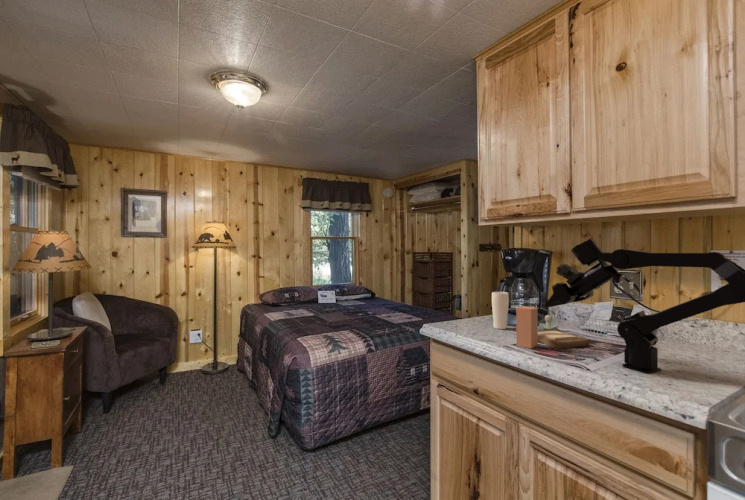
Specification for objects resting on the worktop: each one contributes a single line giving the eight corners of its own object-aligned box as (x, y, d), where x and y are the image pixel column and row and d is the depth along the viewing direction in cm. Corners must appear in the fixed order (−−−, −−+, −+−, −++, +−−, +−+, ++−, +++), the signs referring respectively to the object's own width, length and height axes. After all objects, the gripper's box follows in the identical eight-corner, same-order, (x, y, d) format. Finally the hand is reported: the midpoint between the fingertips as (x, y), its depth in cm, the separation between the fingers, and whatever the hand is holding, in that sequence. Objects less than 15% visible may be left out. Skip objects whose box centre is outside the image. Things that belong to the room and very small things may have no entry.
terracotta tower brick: (537, 345, 119) (537, 307, 119) (531, 348, 116) (531, 309, 116) (523, 342, 123) (523, 306, 123) (516, 345, 120) (516, 307, 120)
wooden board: (589, 345, 119) (589, 338, 119) (558, 348, 115) (558, 341, 115) (553, 334, 134) (553, 328, 134) (525, 337, 131) (525, 330, 131)
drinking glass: (488, 327, 148) (488, 292, 148) (501, 326, 150) (501, 291, 150) (498, 330, 141) (498, 293, 142) (512, 329, 143) (512, 293, 144)
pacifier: (544, 327, 148) (537, 329, 145) (545, 313, 148) (537, 314, 145) (562, 330, 142) (555, 332, 139) (562, 315, 142) (555, 316, 139)
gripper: (587, 256, 115) (549, 282, 124) (563, 257, 103) (523, 286, 112) (611, 284, 109) (569, 310, 119) (588, 288, 98) (544, 316, 107)
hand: (551, 304), depth 114 cm, fingers open, 9 cm apart
